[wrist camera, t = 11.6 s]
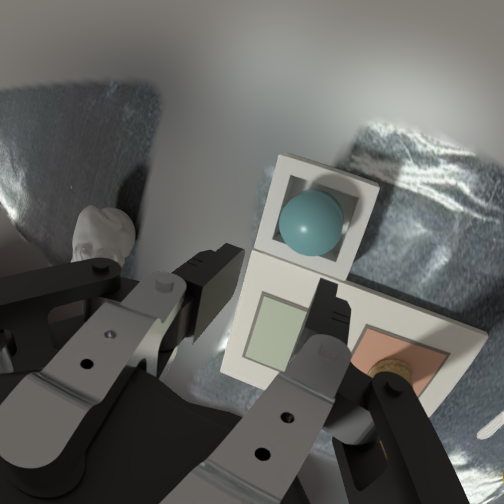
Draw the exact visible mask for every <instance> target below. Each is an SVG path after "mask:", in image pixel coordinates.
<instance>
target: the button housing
mask: <svg viewBox="0 0 504 504" xmlns="http://www.w3.org/2000/svg"><path fill="white" fill-rule="evenodd" d="M309 189H319V190H323V191H326V192H328V193H329V194H331V195H332V196H334V197H335V198H336V199H337V201H338V202H339V203H340V205H341V207H342V210H343V214H344V223H343V228H342V233H341V236H340V239H339V241H338V242H337V244H336V245H335V246H334V248H332V249H331V250H330V251H329V252H327V253H325V254H322V255H319V256H305V255H301V254H299V253H297V252H295V251H293V250H292V249H291V248H290V247H289V246H288V245H287V244H286V243H285V241H284V240H283V238H282V236H281V233H280V228H279V219H280V215H281V212H282V210H283V208H284V207H285V205H286V204H287V203H288V202H289V201H290V200H292V199H293V198H294V197H295V196H296V195H297V194H299V193H301V192H303V191H305V190H309ZM379 189H380V187H379V185H378V183H376V182H374V181H371V180H368V179H366V178H363V177H360V176H357V175H354V174H351V173H349V172H346V171H343V170H340V169H337V168H334V167H331V166H328V165H325V164H322V163H319V162H316V161H312V160H309V159H306V158H303V157H299V156H296V155H293V154H289V153H285V154H279V156H278V160H277V164H276V167H275V171H274V175H273V179H272V182H271V186H270V190H269V194H268V197H267V201H266V205H265V209H264V212H263V216H262V220H261V224H260V227H259V231H258V235H257V239H256V242H255V246H254V248H255V249H258V250H261V251H264V252H266V253H269V254H272V255H275V256H277V257H280V258H283V259H286V260H288V261H291V262H294V263H297V264H299V265H302V266H305V267H308V268H310V269H313V270H316V271H319V272H321V273H324V274H327V275H329V276H332V277H335V278H338V279H340V280H343V281H345V280H346V278H347V275H348V273H349V271H350V268H351V266H352V263H353V260H354V258H355V255H356V253H357V250H358V248H359V245H360V242H361V240H362V237H363V234H364V232H365V229H366V226H367V224H368V221H369V218H370V215H371V212H372V210H373V207H374V204H375V201H376V198H377V195H378V192H379Z"/></svg>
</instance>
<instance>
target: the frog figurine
mask: <svg viewBox="0 0 504 504" xmlns="http://www.w3.org/2000/svg"><path fill="white" fill-rule="evenodd" d="M134 241H135V227H134V224H133V222H132V220H131V218H130V217H129V216H128V215H127V214H126V213H125V212H123V211H122V210H119V209H117V208H103V209H101V210H99V209H97V208H96V207H95V206H93V205H89V206H87V207H86V208H85V209H84V210H83V211H82V212H81V213H80V215H79V217H78V221H77V225H76V228H75V232H74V235H73V258H72V260H71V262H76V261H81V260H86V259H91V258H98V257H101V258H109V259H112V260H114V261H116V262H118V263H119V264H120V266H121V268H122V267H123V264H124V263H125V260H124V258H125V257H127V256H128V255H129V253H130V250H131V249H133V248H132V247H133V245H134Z"/></svg>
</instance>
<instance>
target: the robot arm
mask: <svg viewBox="0 0 504 504" xmlns="http://www.w3.org/2000/svg"><path fill="white" fill-rule="evenodd" d="M244 254H245V250H244V249H242V248H239V247H236V246H234V245H231V244H228V243H226V244H224V245H223V246H222V247H221V248H220V249H218V250H217V251H216V252H214V251H212V250H207V251H203V252H199V253H198V254H196V255H195V256H194V257H192V258H191V259H190V260H188V261H187V262H186V263H184V264H183V265H181V266H180V267H179V268H177V269H176V270H175V271H173V272H172V273H169V272H153V273H150V274H148V275H146V276H145V277H144V278H143V279H142V280H141V281H136V280H132V279H128V278H124V277H121V270H122V269H121V266H120V264H119V263H118V262H116V261H114V260H112V259H109V258H101V257H98V258H91V259H86V260H81V261H76V262H71V263H66V264H62V265H57V266H52V267H48V268H43V269H39V270H33V271H28V272H24V273H20V274H15V275H10V276H6V277H1V278H0V504H310V502H309V500H308V498H307V495H306V494H305V491H304V489H303V487H302V485H301V482H300V480H299V478H298V476H297V473H298V471H299V470H300V468H301V466H302V464H303V462H304V461H305V459H306V457H307V455H308V453H309V452H310V450H311V448H312V446H313V444H314V442H315V440H316V438H317V436H318V434H319V432H320V431H321V429H323V430H324V431H326V432H327V433H329V434H330V435H332V436H333V437H332V443H333V447H334V450H335V454H336V458H337V461H338V465H339V468H340V471H341V476H342V479H343V483H344V487H345V490H346V494H347V498H348V501H349V504H470V503H469V501H468V499H467V496H466V494H465V492H464V490H463V487H462V485H461V483H460V481H459V479H458V477H457V474H456V472H455V470H454V468H453V466H452V464H451V462H450V460H449V457H448V455H447V453H446V451H445V449H444V447H443V445H442V443H441V441H440V439H439V437H438V435H437V433H436V431H435V429H434V427H433V425H432V423H431V421H430V420H429V418H428V416H427V414H426V412H425V410H424V408H423V406H422V404H421V402H420V401H419V399H418V397H417V395H416V393H415V391H414V389H413V388H412V386H411V385H410V383H409V382H408V381H407V380H406V379H405V378H403V377H402V376H400V375H398V374H396V373H393V372H389V371H382V372H379V373H377V374H375V375H374V377H373V378H372V377H370V376H368V375H367V374H365V373H363V372H362V371H360V370H359V369H358V368H356V367H355V366H354V365H353V364H352V362H351V358H352V354H351V351H350V349H349V348H348V346H347V345H348V337H349V328H350V320H351V319H350V318H351V310H352V309H351V307H350V305H349V304H348V302H347V301H346V300H344V299H341V298H338V297H336V294H337V289H338V284H337V283H334V282H332V281H329V280H326V279H323V278H320V280H319V282H318V285H317V288H316V290H315V293H314V295H313V298H312V301H311V303H310V306H309V308H308V311H307V313H306V316H305V318H304V321H303V324H302V326H301V329H300V332H299V335H298V337H297V340H296V343H295V345H294V348H293V351H292V353H291V356H290V359H289V361H288V364H287V366H286V369H285V372H284V373H283V372H279V373H278V374H277V376H276V377H275V378H274V379H273V381H272V382H271V383H270V385H269V386H268V387H267V388H266V390H265V391H264V392H263V393H262V395H261V396H260V397H259V398H258V400H257V401H256V402H255V403H254V405H253V406H252V407H251V408H250V409H249V411H248V412H247V413H246V414H245V416H244V417H243V418H242V417H240V416H237V415H235V414H233V413H230V412H226V411H222V410H217V409H213V408H209V407H204V406H200V405H196V404H192V403H189V402H187V401H185V400H183V399H182V398H181V397H180V396H178V395H177V394H176V393H175V392H173V391H172V390H171V389H170V388H169V387H167V386H166V385H165V384H164V383H163V382H162V381H163V379H164V377H165V375H166V373H167V371H168V369H169V367H170V365H171V363H172V361H173V359H174V357H175V355H176V353H177V347H178V345H179V344H180V342H181V341H182V340H184V341H186V342H188V343H190V344H193V343H194V342H195V341H196V340H197V339H198V337H199V336H200V335H201V334H202V333H203V331H204V330H205V329H206V328H207V327H208V325H209V324H210V323H211V322H212V321H213V319H214V318H215V317H216V315H218V313H219V312H220V311H221V310H222V309H223V307H224V306H225V305H226V304H227V303H228V301H229V300H230V299H231V297H232V295H233V294H234V291H235V289H236V286H237V282H238V278H239V274H240V270H241V267H242V263H243V259H244ZM80 300H82V305H83V306H82V307H83V315H80V316H76V317H73V318H69V319H66V320H62V321H58V322H55V323H51V324H48V314H49V312H50V311H51V310H52V309H53V308H55V307H58V306H61V305H65V304H69V303H73V302H77V301H80ZM42 367H45V368H44V369H39V368H42ZM36 369H37V370H36ZM380 440H381V442H382V445H383V447H384V450H385V453H386V455H387V459H386V457H385V454H384V451H383V449H382V446H381V443H380Z"/></svg>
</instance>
